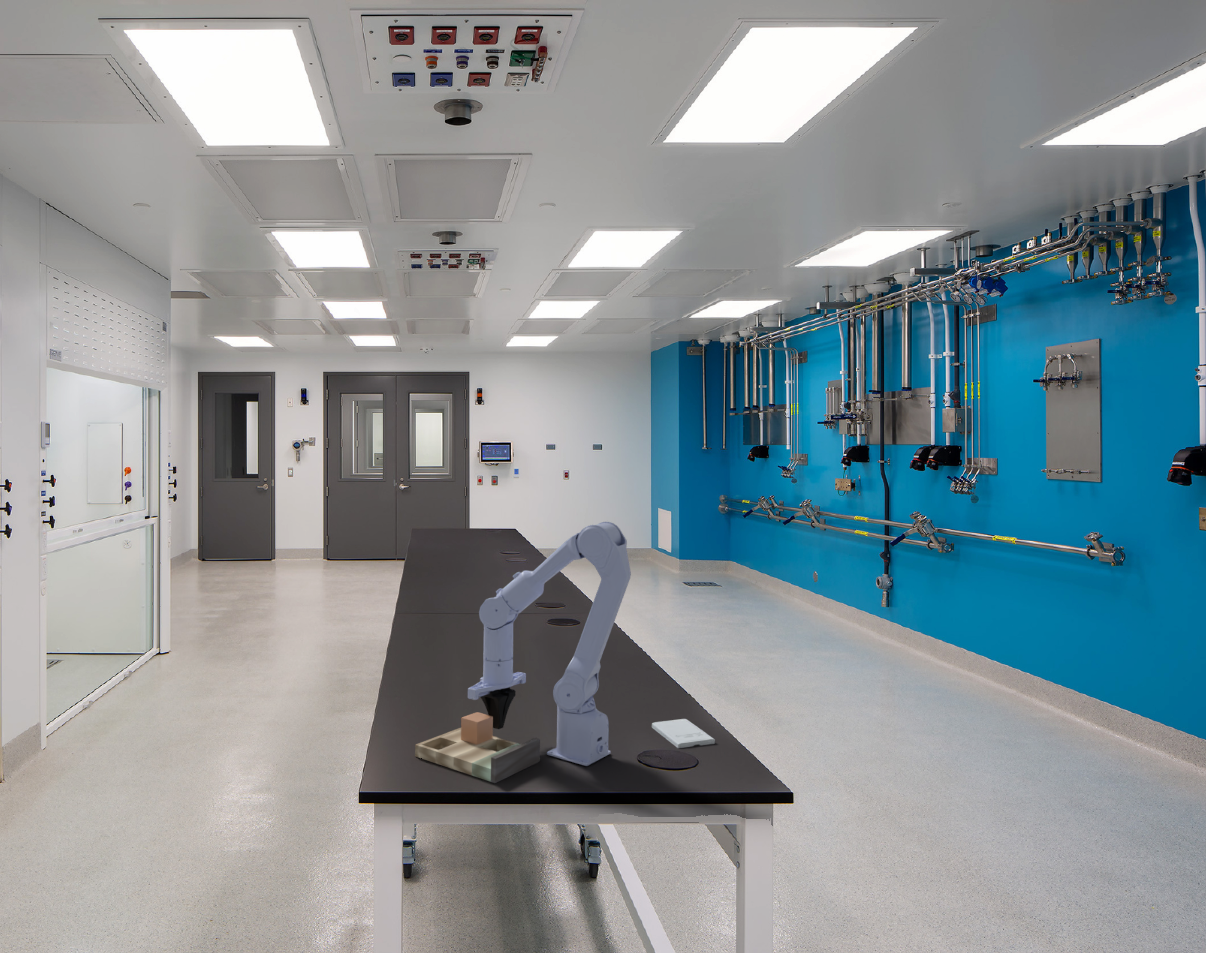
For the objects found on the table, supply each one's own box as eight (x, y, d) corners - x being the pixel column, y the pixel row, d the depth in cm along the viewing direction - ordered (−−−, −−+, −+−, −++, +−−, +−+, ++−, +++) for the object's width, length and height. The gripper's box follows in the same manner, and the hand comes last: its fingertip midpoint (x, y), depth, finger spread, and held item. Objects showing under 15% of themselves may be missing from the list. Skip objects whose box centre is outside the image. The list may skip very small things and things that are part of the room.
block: (492, 738, 148) (492, 716, 148) (476, 744, 144) (477, 722, 144) (476, 733, 150) (477, 712, 150) (461, 739, 147) (461, 717, 147)
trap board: (539, 761, 142) (540, 739, 142) (495, 783, 132) (495, 759, 132) (461, 738, 154) (461, 717, 154) (415, 756, 144) (415, 734, 144)
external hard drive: (686, 726, 165) (715, 746, 153) (651, 730, 162) (677, 751, 150) (686, 718, 165) (715, 738, 153) (651, 722, 162) (677, 743, 150)
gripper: (507, 647, 159) (506, 713, 159) (456, 662, 147) (455, 733, 147) (534, 653, 155) (533, 720, 155) (483, 668, 143) (482, 741, 143)
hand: (497, 727), depth 151 cm, fingers closed
